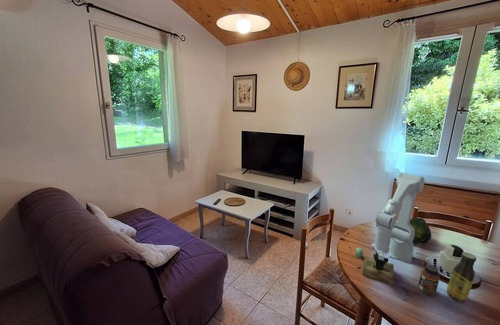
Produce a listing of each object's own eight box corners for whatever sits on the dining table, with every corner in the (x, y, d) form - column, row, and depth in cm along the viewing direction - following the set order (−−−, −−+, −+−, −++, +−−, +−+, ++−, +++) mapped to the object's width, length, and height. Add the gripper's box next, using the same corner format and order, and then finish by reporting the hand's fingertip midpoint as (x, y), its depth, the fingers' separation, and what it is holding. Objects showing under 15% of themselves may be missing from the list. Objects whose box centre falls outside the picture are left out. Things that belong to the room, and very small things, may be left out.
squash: (392, 231, 129) (417, 218, 120) (397, 222, 140) (419, 210, 132) (412, 253, 124) (439, 241, 116) (414, 242, 135) (439, 231, 127)
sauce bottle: (441, 291, 93) (452, 249, 88) (455, 290, 93) (466, 248, 89) (457, 304, 87) (469, 260, 82) (472, 303, 87) (484, 259, 83)
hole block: (392, 270, 105) (393, 264, 104) (393, 284, 96) (394, 277, 96) (363, 262, 111) (364, 256, 110) (362, 274, 102) (363, 268, 101)
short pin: (362, 255, 116) (363, 248, 115) (361, 258, 113) (362, 251, 112) (356, 253, 117) (356, 246, 116) (355, 256, 115) (356, 250, 114)
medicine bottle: (455, 266, 108) (460, 244, 105) (463, 276, 102) (469, 253, 99) (437, 262, 110) (442, 241, 108) (444, 272, 104) (449, 249, 101)
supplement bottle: (420, 294, 91) (425, 270, 89) (415, 283, 97) (420, 261, 94) (438, 298, 89) (444, 274, 87) (432, 287, 95) (437, 264, 92)
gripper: (373, 228, 107) (369, 253, 111) (372, 244, 95) (368, 271, 98) (390, 232, 104) (386, 258, 107) (391, 249, 92) (386, 277, 95)
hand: (378, 264), depth 103 cm, fingers open, 7 cm apart
